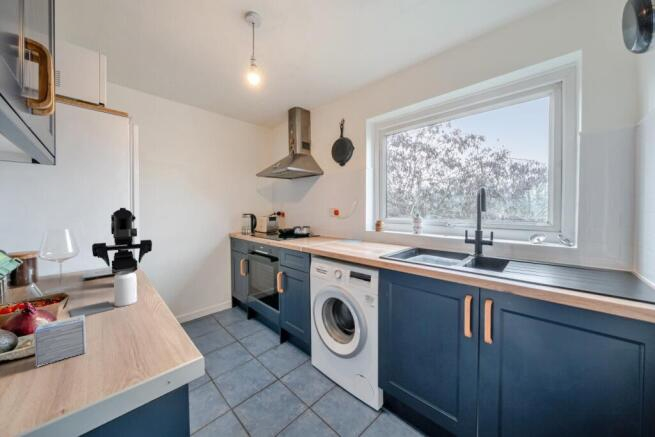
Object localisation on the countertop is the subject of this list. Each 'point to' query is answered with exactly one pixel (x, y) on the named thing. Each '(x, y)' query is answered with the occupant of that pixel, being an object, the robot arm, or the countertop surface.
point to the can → (125, 288)
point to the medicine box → (60, 339)
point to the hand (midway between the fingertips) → (124, 264)
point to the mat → (91, 309)
